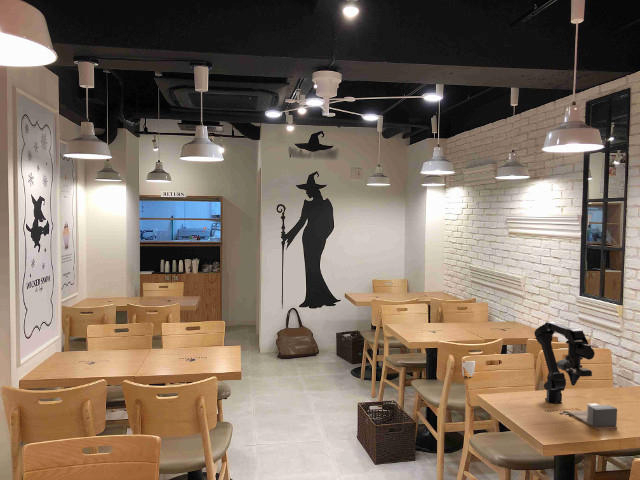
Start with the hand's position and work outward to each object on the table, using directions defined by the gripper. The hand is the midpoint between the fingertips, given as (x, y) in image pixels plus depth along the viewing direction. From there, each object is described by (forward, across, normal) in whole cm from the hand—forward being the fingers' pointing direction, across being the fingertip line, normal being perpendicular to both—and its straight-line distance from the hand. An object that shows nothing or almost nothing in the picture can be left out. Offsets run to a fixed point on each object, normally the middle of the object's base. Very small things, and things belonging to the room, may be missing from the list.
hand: (573, 385), depth 254 cm
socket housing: (+12, +20, 0) cm, 23 cm away
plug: (+11, +16, 0) cm, 20 cm away
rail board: (+13, +13, 0) cm, 19 cm away
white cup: (+13, -62, -23) cm, 67 cm away
